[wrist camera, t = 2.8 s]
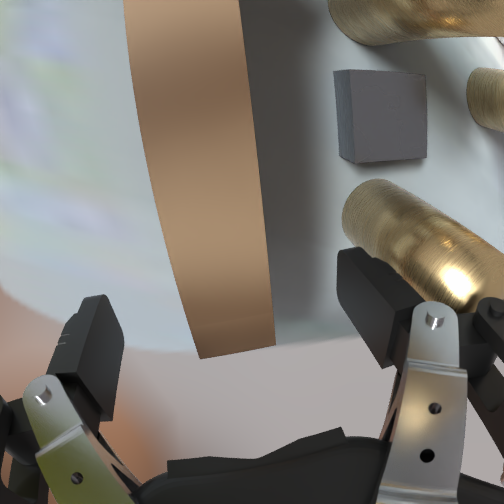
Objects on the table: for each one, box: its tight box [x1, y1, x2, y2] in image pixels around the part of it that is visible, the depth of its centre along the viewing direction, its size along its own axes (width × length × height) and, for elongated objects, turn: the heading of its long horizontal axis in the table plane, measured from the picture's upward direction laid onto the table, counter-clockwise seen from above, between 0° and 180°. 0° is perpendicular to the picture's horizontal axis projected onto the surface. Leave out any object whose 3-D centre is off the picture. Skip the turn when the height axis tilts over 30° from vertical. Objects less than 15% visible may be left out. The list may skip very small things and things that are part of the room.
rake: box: [123, 0, 276, 359], centre depth 10 cm, size 16×5×6 cm, turn 6°
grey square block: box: [333, 69, 427, 164], centre depth 13 cm, size 4×4×2 cm
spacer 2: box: [342, 179, 504, 314], centre depth 12 cm, size 4×4×9 cm
